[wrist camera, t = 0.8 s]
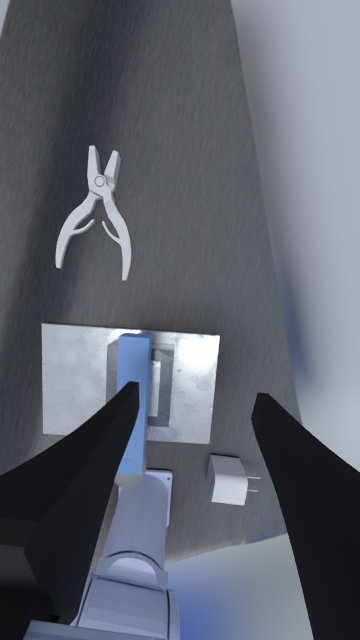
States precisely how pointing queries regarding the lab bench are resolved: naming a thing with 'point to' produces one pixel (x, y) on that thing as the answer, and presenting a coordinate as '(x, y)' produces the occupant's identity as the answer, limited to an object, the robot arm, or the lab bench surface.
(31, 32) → the lab bench surface
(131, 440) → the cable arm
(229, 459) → the usb wall charger
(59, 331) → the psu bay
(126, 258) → the pliers
